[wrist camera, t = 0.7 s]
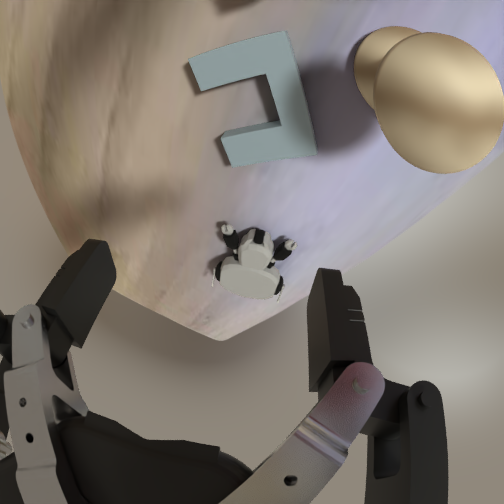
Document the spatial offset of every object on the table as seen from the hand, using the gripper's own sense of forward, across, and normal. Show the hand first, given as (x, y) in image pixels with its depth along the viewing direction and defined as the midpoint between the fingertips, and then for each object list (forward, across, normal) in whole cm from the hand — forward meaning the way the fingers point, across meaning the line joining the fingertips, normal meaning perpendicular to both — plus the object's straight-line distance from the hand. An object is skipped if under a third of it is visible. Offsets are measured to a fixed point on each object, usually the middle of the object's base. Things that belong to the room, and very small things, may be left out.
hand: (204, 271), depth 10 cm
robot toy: (+28, -1, +23) cm, 36 cm away
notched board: (+24, 0, -3) cm, 24 cm away
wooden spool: (+21, -15, -9) cm, 27 cm away
